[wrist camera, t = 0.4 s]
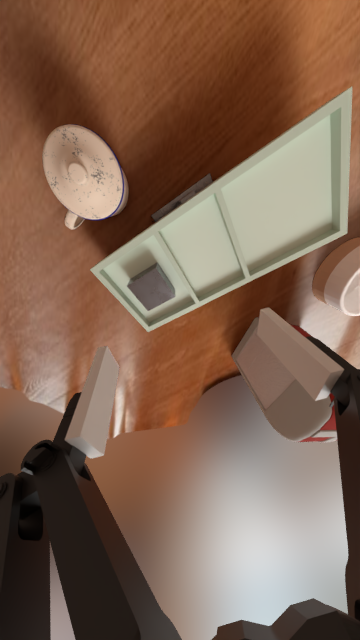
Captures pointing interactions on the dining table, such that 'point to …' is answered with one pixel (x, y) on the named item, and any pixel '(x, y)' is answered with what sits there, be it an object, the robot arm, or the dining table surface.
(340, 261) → the bowl
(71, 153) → the teacup with lid
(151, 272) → the block
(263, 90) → the dining table surface
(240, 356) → the red striped block
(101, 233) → the dining table surface
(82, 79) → the dining table surface
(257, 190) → the divided tray
